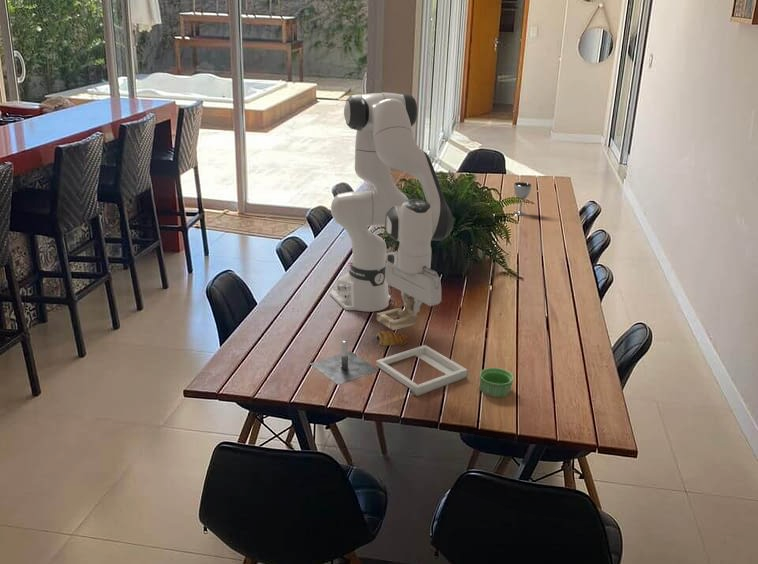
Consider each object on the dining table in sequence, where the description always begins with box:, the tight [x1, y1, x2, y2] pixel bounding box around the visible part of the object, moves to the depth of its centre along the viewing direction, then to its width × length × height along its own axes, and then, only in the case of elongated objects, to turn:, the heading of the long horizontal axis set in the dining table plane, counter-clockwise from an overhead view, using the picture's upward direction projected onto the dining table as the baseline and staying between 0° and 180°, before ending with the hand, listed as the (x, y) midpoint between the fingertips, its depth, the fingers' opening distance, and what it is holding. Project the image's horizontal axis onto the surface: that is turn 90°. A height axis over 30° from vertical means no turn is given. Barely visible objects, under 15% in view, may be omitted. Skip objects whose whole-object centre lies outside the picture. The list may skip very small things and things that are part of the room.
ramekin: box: [479, 367, 515, 398], centre depth 190 cm, size 9×9×4 cm
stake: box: [309, 339, 380, 386], centre depth 196 cm, size 14×14×9 cm
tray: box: [375, 344, 468, 397], centre depth 197 cm, size 18×18×2 cm
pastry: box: [375, 330, 408, 347], centre depth 214 cm, size 9×7×4 cm
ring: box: [376, 295, 418, 331], centre depth 190 cm, size 8×10×6 cm
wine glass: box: [512, 181, 532, 217], centre depth 349 cm, size 8×8×15 cm
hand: (411, 309), depth 193 cm, fingers closed on ring
